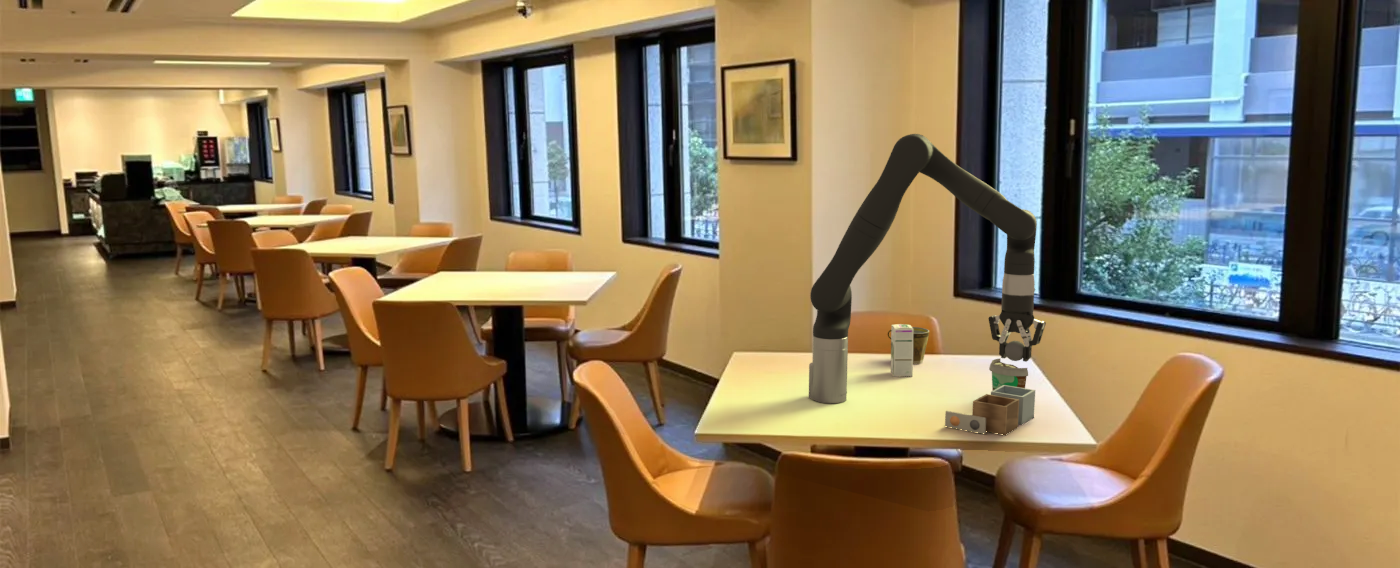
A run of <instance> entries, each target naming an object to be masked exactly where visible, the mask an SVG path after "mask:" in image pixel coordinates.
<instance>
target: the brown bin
mask: <svg viewBox="0 0 1400 568" xmlns="http://www.w3.org/2000/svg"><path fill="white" fill-rule="evenodd" d="M1018 412H1019V399H1013V398H1007V397H1001V396H995V395H991V394H988V393H986V394H984V395H982V396H981V397H980V396H979V397H978V398H977V399H974V400H973V401H972V414H971V415H973V416H979V417H984V418H986V431H987V432H986V433H988V432H992V433H991V434H993V433H998V434H1003V435H1005V436H1007V435H1008V434H1007V433H1009V432H1010V433H1012V432H1013V431H1014V429H1015V428H1016V429H1018V428H1017V427H1019V424H1018ZM1016 429H1015V430H1016ZM1012 430H1013V431H1012ZM1011 431H1012V432H1011ZM1010 433H1009V434H1010ZM998 434H997V435H998ZM1006 434H1007V435H1006ZM1003 435H1002V436H1003Z"/></svg>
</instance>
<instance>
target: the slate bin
mask: <svg viewBox="0 0 1400 568" xmlns="http://www.w3.org/2000/svg"><path fill="white" fill-rule="evenodd" d="M990 395H995V396H1001V397H1007V398H1013V399H1019V412H1018V425H1020V424H1021V426H1022V424H1023V425H1024V424H1025V422H1026V423H1028V422H1029V421H1031V420H1032V419H1033V418H1035V407H1036V406H1035V403H1036V390H1035V389H1030V388H1026V387H1025V388H1019V387H1013V386H1007V385H1002V386H1001V387H999V388H997V389H995V390H993V391H992V390H991V391H990Z"/></svg>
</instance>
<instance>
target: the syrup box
mask: <svg viewBox="0 0 1400 568" xmlns="http://www.w3.org/2000/svg"><path fill="white" fill-rule="evenodd" d="M912 327H913V326H912V325H911V324H906V323H903V324H902V323H897V324H891V329H890V330H891V332H890V333H891V335H890V337H891V339H890V373H891V374H892V376H893V377H898V378H899V376H904V377H903V378H905V376H906V378H908V377H909V376H910V378H912V377H913V375H914V374H913V372H914V371H913V370H914V364H913V328H912ZM907 376H908V377H907Z"/></svg>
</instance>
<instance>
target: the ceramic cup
mask: <svg viewBox="0 0 1400 568" xmlns="http://www.w3.org/2000/svg"><path fill="white" fill-rule="evenodd" d="M911 327H912V328H913V365H920V364H922V363H923V362H924V358H925V353H926V349H927V344H928V339H929V335H930V330H929V329H927V328H924V327H917V326H911ZM890 333H891V329H890V330H888V332H887V337H888V338H889V339H890V340H891V335H890Z"/></svg>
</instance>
